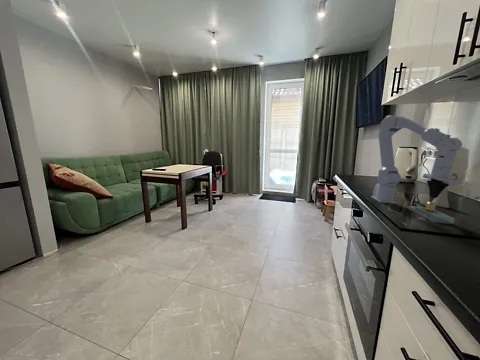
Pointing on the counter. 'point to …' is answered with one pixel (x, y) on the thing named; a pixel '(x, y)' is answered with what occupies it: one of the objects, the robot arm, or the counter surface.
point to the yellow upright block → (430, 206)
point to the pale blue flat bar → (432, 215)
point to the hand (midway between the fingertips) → (433, 197)
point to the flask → (442, 199)
